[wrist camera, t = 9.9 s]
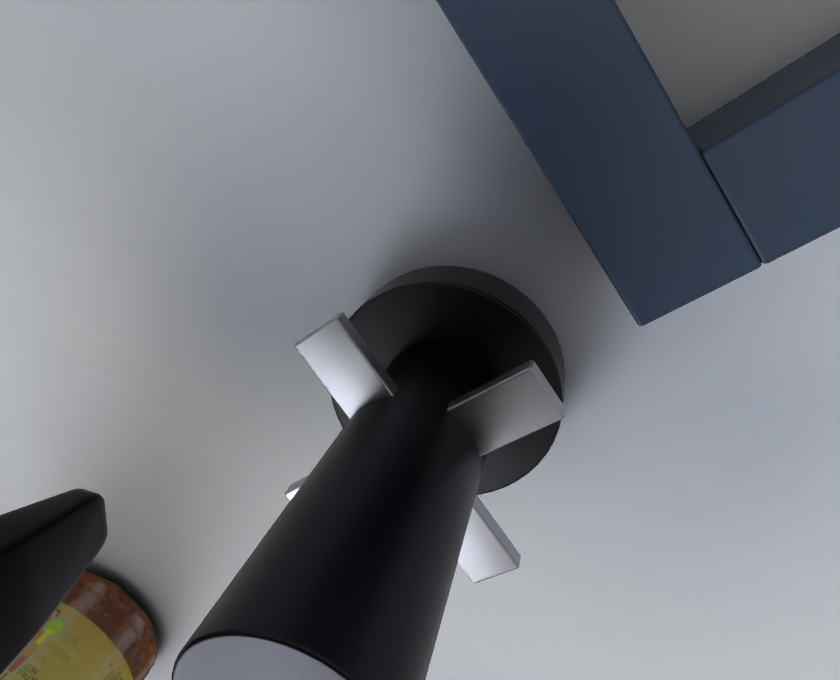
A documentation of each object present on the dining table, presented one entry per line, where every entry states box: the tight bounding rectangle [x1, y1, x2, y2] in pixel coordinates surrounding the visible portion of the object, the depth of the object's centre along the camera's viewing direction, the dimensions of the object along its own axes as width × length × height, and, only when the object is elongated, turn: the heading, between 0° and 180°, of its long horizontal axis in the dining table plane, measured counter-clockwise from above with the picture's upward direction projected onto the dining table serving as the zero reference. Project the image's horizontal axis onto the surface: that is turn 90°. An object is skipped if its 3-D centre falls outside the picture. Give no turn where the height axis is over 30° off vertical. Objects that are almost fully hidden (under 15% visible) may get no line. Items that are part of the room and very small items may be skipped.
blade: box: [172, 266, 565, 680], centre depth 11 cm, size 7×7×10 cm
